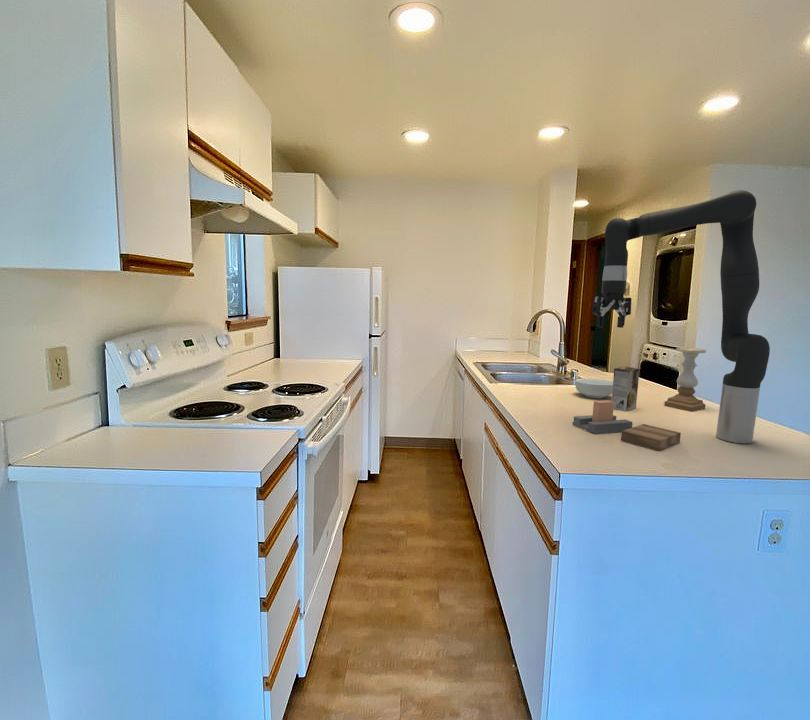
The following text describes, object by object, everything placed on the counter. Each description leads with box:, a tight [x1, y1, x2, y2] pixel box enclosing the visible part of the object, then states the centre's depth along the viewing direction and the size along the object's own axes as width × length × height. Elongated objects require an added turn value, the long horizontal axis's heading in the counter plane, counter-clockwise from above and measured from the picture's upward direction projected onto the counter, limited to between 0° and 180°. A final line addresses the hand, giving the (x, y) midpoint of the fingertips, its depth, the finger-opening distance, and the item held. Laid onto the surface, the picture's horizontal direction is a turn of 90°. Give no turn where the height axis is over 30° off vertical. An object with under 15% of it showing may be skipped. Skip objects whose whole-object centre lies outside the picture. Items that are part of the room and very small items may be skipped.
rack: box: [572, 414, 633, 435], centre depth 147 cm, size 15×11×3 cm
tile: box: [592, 400, 614, 422], centre depth 147 cm, size 6×2×8 cm, turn 107°
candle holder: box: [663, 347, 707, 412], centre depth 178 cm, size 11×11×24 cm
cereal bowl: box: [574, 377, 613, 400], centre depth 195 cm, size 17×17×7 cm
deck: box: [620, 423, 682, 452], centre depth 134 cm, size 14×11×3 cm
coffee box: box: [610, 366, 640, 412], centre depth 175 cm, size 9×6×16 cm
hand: (610, 327), depth 152 cm, fingers open, 8 cm apart
